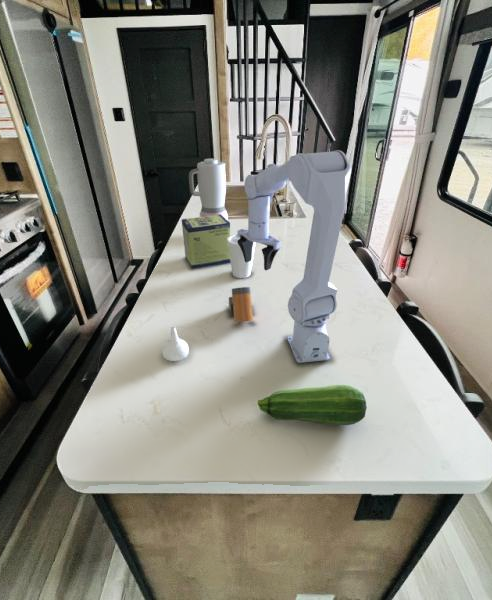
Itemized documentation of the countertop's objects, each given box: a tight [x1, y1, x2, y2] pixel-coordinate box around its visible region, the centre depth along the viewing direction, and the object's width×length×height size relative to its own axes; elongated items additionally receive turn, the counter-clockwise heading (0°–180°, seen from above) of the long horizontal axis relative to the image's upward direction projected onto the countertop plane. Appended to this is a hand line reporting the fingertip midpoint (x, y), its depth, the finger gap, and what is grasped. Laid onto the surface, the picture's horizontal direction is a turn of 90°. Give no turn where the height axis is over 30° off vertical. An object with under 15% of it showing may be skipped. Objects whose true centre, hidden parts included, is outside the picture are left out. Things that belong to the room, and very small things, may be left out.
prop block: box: [228, 296, 253, 317], centre depth 91 cm, size 4×6×4 cm, turn 98°
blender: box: [188, 158, 229, 221], centre depth 133 cm, size 16×12×32 cm
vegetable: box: [257, 384, 368, 426], centre depth 60 cm, size 7×7×20 cm
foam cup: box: [227, 233, 257, 279], centre depth 109 cm, size 10×9×13 cm
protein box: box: [181, 214, 231, 270], centre depth 118 cm, size 10×16×16 cm
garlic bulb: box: [161, 325, 190, 362], centre depth 75 cm, size 6×6×8 cm
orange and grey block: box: [231, 286, 254, 323], centre depth 86 cm, size 9×5×10 cm, turn 9°
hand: (257, 265), depth 95 cm, fingers open, 7 cm apart
